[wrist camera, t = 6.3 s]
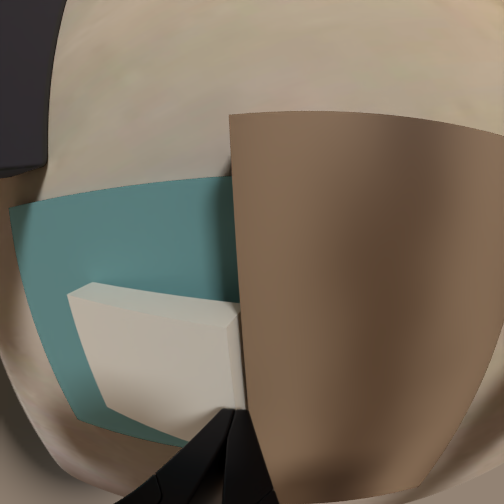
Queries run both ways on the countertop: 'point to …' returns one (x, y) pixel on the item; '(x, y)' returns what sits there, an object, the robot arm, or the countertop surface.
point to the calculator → (26, 81)
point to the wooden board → (364, 292)
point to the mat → (121, 267)
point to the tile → (162, 355)
